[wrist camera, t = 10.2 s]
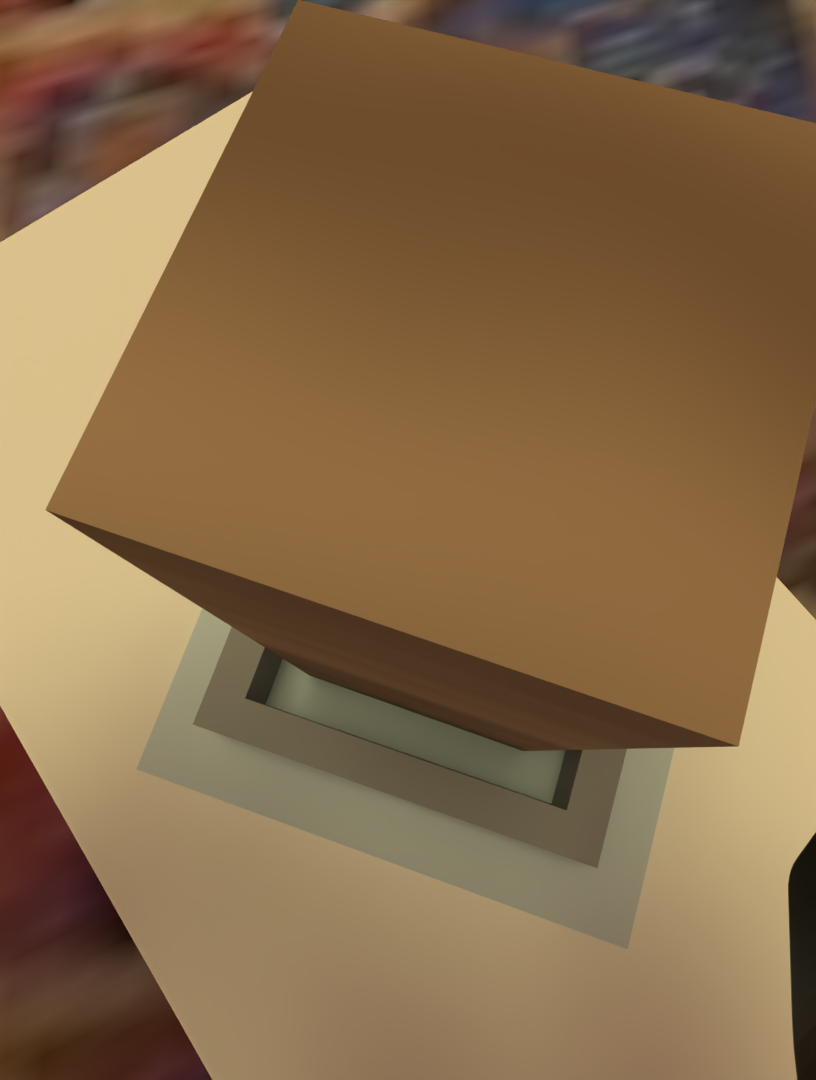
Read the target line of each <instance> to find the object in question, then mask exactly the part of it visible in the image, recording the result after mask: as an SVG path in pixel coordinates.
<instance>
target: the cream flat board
mask: <svg viewBox="0 0 816 1080" xmlns="http://www.w3.org/2000/svg"><path fill="white" fill-rule="evenodd" d="M251 94H252V92H251V93H250V94H248V95H246V96H245V97H243V98H241V99H240V100H238V101H236V102H234V103H233V104H231V105H229V106H228V107H226V108H224V109H223V110H221V111H219V112H218V113H216V114H214V115H213V116H211V117H209V118H208V119H206V120H204V121H203V122H201V123H199V124H198V125H196V126H194V127H193V128H191V129H189V130H188V131H186V132H184V133H183V134H181V135H179V136H178V137H176V138H174V139H173V140H171V141H169V142H168V143H166V144H164V145H163V146H161V147H159V148H158V149H156V150H154V151H153V152H151V153H149V154H147V155H146V156H144V157H142V158H141V159H139V160H137V161H136V162H134V163H132V164H131V165H129V166H127V167H126V168H124V169H122V170H121V171H119V172H117V173H116V174H114V175H112V176H111V177H109V178H107V179H106V180H104V181H102V182H101V183H99V184H97V185H96V186H94V187H92V188H91V189H89V190H87V191H86V192H84V193H82V194H81V195H79V196H77V197H76V198H74V199H72V200H71V201H69V202H67V203H65V204H64V205H62V206H60V207H59V208H57V209H55V210H54V211H52V212H50V213H49V214H47V215H45V216H44V217H42V218H40V219H39V220H37V221H35V222H34V223H32V224H30V225H29V226H27V227H25V228H24V229H22V230H20V231H19V232H17V233H15V234H14V235H12V236H10V237H9V238H7V239H5V240H4V241H2V242H0V706H1V708H2V710H3V711H4V713H5V715H6V717H7V718H8V720H9V722H10V724H11V725H12V727H13V729H14V731H15V733H16V734H17V736H18V738H19V740H20V741H21V743H22V745H23V747H24V748H25V750H26V752H27V754H28V755H29V757H30V759H31V761H32V763H33V764H34V766H35V768H36V770H37V771H38V773H39V775H40V777H41V778H42V780H43V782H44V784H45V785H46V787H47V789H48V791H49V793H50V794H51V796H52V798H53V800H54V801H55V803H56V805H57V807H58V808H59V810H60V812H61V814H62V815H63V817H64V819H65V821H66V822H67V824H68V826H69V828H70V830H71V831H72V833H73V835H74V837H75V838H76V840H77V842H78V844H79V845H80V847H81V849H82V851H83V852H84V854H85V856H86V858H87V860H88V861H89V863H90V865H91V867H92V868H93V870H94V872H95V874H96V875H97V877H98V879H99V881H100V882H101V884H102V886H103V888H104V890H105V891H106V893H107V895H108V897H109V898H110V900H111V902H112V904H113V905H114V907H115V909H116V911H117V912H118V914H119V916H120V918H121V920H122V921H123V923H124V925H125V927H126V928H127V930H128V932H129V934H130V935H131V937H132V939H133V941H134V942H135V944H136V946H137V948H138V949H139V951H140V953H141V955H142V957H143V958H144V960H145V962H146V964H147V965H148V967H149V969H150V971H151V972H152V974H153V976H154V978H155V979H156V981H157V983H158V985H159V987H160V988H161V990H162V992H163V994H164V995H165V997H166V999H167V1001H168V1002H169V1004H170V1006H171V1008H172V1009H173V1011H174V1013H175V1015H176V1017H177V1018H178V1020H179V1022H180V1024H181V1025H182V1027H183V1029H184V1031H185V1032H186V1034H187V1036H188V1038H189V1039H190V1041H191V1043H192V1045H193V1047H194V1048H195V1050H196V1052H197V1054H198V1055H199V1057H200V1059H201V1061H202V1062H203V1064H204V1066H205V1068H206V1069H207V1071H208V1073H209V1075H210V1077H211V1078H212V1080H797V1074H796V1065H795V1056H794V1047H793V1030H792V1007H791V973H790V940H789V906H788V881H789V875H790V871H791V868H792V866H793V864H794V862H795V860H796V859H797V857H798V856H799V854H800V853H801V852H802V850H803V849H804V848H805V846H806V845H807V843H808V842H809V841H810V839H811V838H812V836H813V835H814V834H815V832H816V620H815V619H814V618H813V616H812V615H811V614H810V613H809V612H808V611H807V610H806V609H805V608H804V607H803V606H802V604H801V603H800V602H799V601H798V600H797V599H796V598H795V597H794V596H793V595H792V593H791V592H790V591H789V590H788V589H787V588H786V587H785V586H784V585H783V584H782V583H781V581H780V580H779V579H778V578H777V577H776V581H775V586H774V590H773V595H772V599H771V604H770V608H769V613H768V617H767V622H766V626H765V631H764V635H763V640H762V644H761V648H760V653H759V657H758V662H757V666H756V671H755V675H754V680H753V684H752V689H751V693H750V698H749V702H748V707H747V711H746V716H745V720H744V725H743V729H742V734H741V738H740V743H739V746H738V747H690V748H643V749H596V750H549V751H521V750H518V749H516V748H513V747H510V746H507V745H504V744H502V743H499V742H496V741H493V740H490V739H487V738H485V737H482V736H479V735H476V734H473V733H470V732H468V731H465V730H462V729H459V728H456V727H454V726H451V725H448V724H445V723H442V722H439V721H437V720H434V719H431V718H428V717H425V716H422V715H420V714H417V713H414V712H411V711H408V710H406V709H403V708H400V707H397V706H394V705H391V704H389V703H386V702H383V701H380V700H377V699H374V698H372V697H369V696H366V695H363V694H360V693H358V692H355V691H352V690H349V689H346V688H343V687H341V686H338V685H335V684H332V683H329V682H326V681H324V680H321V679H318V678H315V677H312V676H310V675H308V674H306V673H305V672H303V671H302V670H300V669H298V668H297V667H295V666H294V665H292V664H290V663H289V662H287V661H286V660H284V659H282V658H281V657H279V656H278V655H276V654H274V653H273V652H271V651H270V650H268V649H266V648H265V647H263V646H262V645H260V644H258V643H257V642H255V641H254V640H252V639H251V638H249V637H247V636H246V635H244V634H243V633H241V632H239V631H238V630H236V629H235V628H233V627H231V626H230V625H228V624H227V623H225V622H223V621H222V620H220V619H219V618H217V617H215V616H214V615H212V614H211V613H209V612H207V611H206V610H204V609H203V608H201V607H199V606H198V605H196V604H195V603H193V602H191V601H190V600H188V599H187V598H185V597H183V596H182V595H180V594H179V593H177V592H175V591H174V590H172V589H171V588H169V587H168V586H166V585H164V584H163V583H161V582H160V581H158V580H156V579H155V578H153V577H152V576H150V575H148V574H147V573H145V572H144V571H142V570H140V569H139V568H137V567H136V566H134V565H132V564H131V563H129V562H128V561H126V560H124V559H123V558H121V557H120V556H118V555H116V554H115V553H113V552H112V551H110V550H108V549H107V548H105V547H104V546H102V545H100V544H99V543H97V542H96V541H94V540H92V539H91V538H89V537H88V536H86V535H85V534H83V533H81V532H80V531H78V530H77V529H75V528H73V527H72V526H70V525H69V524H67V523H65V522H64V521H62V520H61V519H59V518H57V517H56V516H54V515H53V514H51V513H49V512H48V511H46V510H45V509H46V507H47V505H48V503H49V501H50V499H51V497H52V495H53V493H54V491H55V489H56V487H57V485H58V483H59V481H60V479H61V477H62V475H63V473H64V471H65V469H66V467H67V465H68V463H69V461H70V459H71V457H72V455H73V453H74V451H75V449H76V447H77V445H78V443H79V441H80V439H81V437H82V435H83V433H84V431H85V429H86V427H87V425H88V423H89V421H90V419H91V417H92V415H93V413H94V411H95V409H96V407H97V405H98V403H99V401H100V399H101V397H102V395H103V392H104V390H105V388H106V386H107V384H108V382H109V380H110V378H111V376H112V374H113V372H114V370H115V368H116V366H117V364H118V362H119V360H120V358H121V356H122V354H123V352H124V350H125V348H126V346H127V344H128V342H129V340H130V338H131V336H132V334H133V332H134V330H135V328H136V326H137V324H138V322H139V320H140V318H141V316H142V314H143V312H144V310H145V308H146V306H147V304H148V302H149V300H150V298H151V296H152V294H153V292H154V290H155V288H156V286H157V284H158V282H159V280H160V278H161V276H162V274H163V272H164V270H165V268H166V266H167V264H168V262H169V260H170V258H171V256H172V254H173V252H174V250H175V248H176V245H177V243H178V241H179V239H180V237H181V235H182V233H183V231H184V229H185V227H186V225H187V223H188V221H189V219H190V217H191V215H192V213H193V211H194V209H195V207H196V205H197V203H198V201H199V199H200V197H201V195H202V193H203V191H204V189H205V187H206V185H207V183H208V181H209V179H210V177H211V175H212V173H213V171H214V169H215V167H216V165H217V163H218V161H219V159H220V157H221V155H222V153H223V151H224V149H225V147H226V145H227V143H228V141H229V139H230V137H231V135H232V133H233V131H234V129H235V127H236V125H237V123H238V121H239V119H240V117H241V115H242V113H243V111H244V109H245V107H246V105H247V103H248V100H249V98H250V96H251Z"/></svg>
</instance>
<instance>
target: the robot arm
mask: <svg viewBox="0 0 816 1080" xmlns="http://www.w3.org/2000/svg"><path fill="white" fill-rule="evenodd" d="M788 906H789V940H790V973H791V1007H792V1030H793V1047H794V1056H795V1065H796V1074H797V1080H816V832H815V834H814V835H813V836H812V838H811V839H810V841H809V842H808V843H807V845H806V846H805V848H804V849H803V850H802V852H801V853H800V854H799V856H798V857H797V859H796V860H795V862H794V864H793V866H792V868H791V871H790V875H789V881H788Z"/></svg>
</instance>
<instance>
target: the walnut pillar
mask: <svg viewBox="0 0 816 1080" xmlns="http://www.w3.org/2000/svg"><path fill="white" fill-rule="evenodd" d="M815 402H816V123H812V122H808V121H804V120H799V119H795V118H791V117H787V116H783V115H778V114H774V113H770V112H766V111H762V110H758V109H753V108H749V107H745V106H741V105H737V104H732V103H728V102H724V101H720V100H716V99H712V98H707V97H703V96H699V95H695V94H691V93H686V92H682V91H678V90H674V89H670V88H666V87H661V86H657V85H653V84H649V83H645V82H640V81H636V80H632V79H628V78H624V77H620V76H615V75H611V74H607V73H603V72H599V71H594V70H590V69H586V68H582V67H578V66H574V65H569V64H565V63H561V62H557V61H553V60H548V59H544V58H540V57H536V56H532V55H528V54H523V53H519V52H515V51H511V50H507V49H502V48H498V47H494V46H490V45H486V44H482V43H477V42H473V41H469V40H465V39H461V38H456V37H452V36H448V35H444V34H440V33H436V32H431V31H427V30H423V29H419V28H415V27H410V26H406V25H402V24H398V23H394V22H390V21H385V20H381V19H377V18H373V17H369V16H364V15H360V14H356V13H352V12H348V11H344V10H339V9H335V8H331V7H327V6H323V5H318V4H314V3H310V2H306V1H302V0H298V2H297V4H296V6H295V8H294V10H293V12H292V14H291V16H290V18H289V20H288V22H287V24H286V26H285V28H284V30H283V32H282V34H281V36H280V38H279V40H278V42H277V44H276V46H275V48H274V50H273V52H272V54H271V56H270V58H269V60H268V62H267V64H266V66H265V68H264V70H263V72H262V74H261V76H260V78H259V80H258V82H257V84H256V86H255V88H254V90H253V92H252V94H251V96H250V98H249V100H248V103H247V105H246V107H245V109H244V111H243V113H242V115H241V117H240V119H239V121H238V123H237V125H236V127H235V129H234V131H233V133H232V135H231V137H230V139H229V141H228V143H227V145H226V147H225V149H224V151H223V153H222V155H221V157H220V159H219V161H218V163H217V165H216V167H215V169H214V171H213V173H212V175H211V177H210V179H209V181H208V183H207V185H206V187H205V189H204V191H203V193H202V195H201V197H200V199H199V201H198V203H197V205H196V207H195V209H194V211H193V213H192V215H191V217H190V219H189V221H188V223H187V225H186V227H185V229H184V231H183V233H182V235H181V237H180V239H179V241H178V243H177V245H176V248H175V250H174V252H173V254H172V256H171V258H170V260H169V262H168V264H167V266H166V268H165V270H164V272H163V274H162V276H161V278H160V280H159V282H158V284H157V286H156V288H155V290H154V292H153V294H152V296H151V298H150V300H149V302H148V304H147V306H146V308H145V310H144V312H143V314H142V316H141V318H140V320H139V322H138V324H137V326H136V328H135V330H134V332H133V334H132V336H131V338H130V340H129V342H128V344H127V346H126V348H125V350H124V352H123V354H122V356H121V358H120V360H119V362H118V364H117V366H116V368H115V370H114V372H113V374H112V376H111V378H110V380H109V382H108V384H107V386H106V388H105V390H104V392H103V395H102V397H101V399H100V401H99V403H98V405H97V407H96V409H95V411H94V413H93V415H92V417H91V419H90V421H89V423H88V425H87V427H86V429H85V431H84V433H83V435H82V437H81V439H80V441H79V443H78V445H77V447H76V449H75V451H74V453H73V455H72V457H71V459H70V461H69V463H68V465H67V467H66V469H65V471H64V473H63V475H62V477H61V479H60V481H59V483H58V485H57V487H56V489H55V491H54V493H53V495H52V497H51V499H50V501H49V503H48V505H47V507H46V509H45V510H46V511H48V512H49V513H51V514H53V515H54V516H56V517H57V518H59V519H61V520H62V521H64V522H65V523H67V524H69V525H70V526H72V527H73V528H75V529H77V530H78V531H80V532H81V533H83V534H85V535H86V536H88V537H89V538H91V539H92V540H94V541H96V542H97V543H99V544H100V545H102V546H104V547H105V548H107V549H108V550H110V551H112V552H113V553H115V554H116V555H118V556H120V557H121V558H123V559H124V560H126V561H128V562H129V563H131V564H132V565H134V566H136V567H137V568H139V569H140V570H142V571H144V572H145V573H147V574H148V575H150V576H152V577H153V578H155V579H156V580H158V581H160V582H161V583H163V584H164V585H166V586H168V587H169V588H171V589H172V590H174V591H175V592H177V593H179V594H180V595H182V596H183V597H185V598H187V599H188V600H190V601H191V602H193V603H195V604H196V605H198V606H199V607H201V608H203V609H204V610H206V611H207V612H209V613H211V614H212V615H214V616H215V617H217V618H219V619H220V620H222V621H223V622H225V623H227V624H228V625H230V626H231V627H233V628H235V629H236V630H238V631H239V632H241V633H243V634H244V635H246V636H247V637H249V638H251V639H252V640H254V641H255V642H257V643H258V644H260V645H262V646H263V647H265V648H266V649H268V650H270V651H271V652H273V653H274V654H276V655H278V656H279V657H281V658H282V659H284V660H286V661H287V662H289V663H290V664H292V665H294V666H295V667H297V668H298V669H300V670H302V671H303V672H305V673H306V674H308V675H310V676H312V677H315V678H318V679H321V680H324V681H326V682H329V683H332V684H335V685H338V686H341V687H343V688H346V689H349V690H352V691H355V692H358V693H360V694H363V695H366V696H369V697H372V698H374V699H377V700H380V701H383V702H386V703H389V704H391V705H394V706H397V707H400V708H403V709H406V710H408V711H411V712H414V713H417V714H420V715H422V716H425V717H428V718H431V719H434V720H437V721H439V722H442V723H445V724H448V725H451V726H454V727H456V728H459V729H462V730H465V731H468V732H470V733H473V734H476V735H479V736H482V737H485V738H487V739H490V740H493V741H496V742H499V743H502V744H504V745H507V746H510V747H513V748H516V749H518V750H521V751H549V750H596V749H643V748H690V747H738V746H739V743H740V738H741V734H742V729H743V725H744V720H745V716H746V711H747V707H748V702H749V698H750V693H751V689H752V684H753V680H754V675H755V671H756V666H757V662H758V657H759V653H760V648H761V644H762V640H763V635H764V631H765V626H766V622H767V617H768V613H769V608H770V604H771V599H772V595H773V590H774V586H775V581H776V577H777V572H778V568H779V563H780V559H781V554H782V550H783V545H784V541H785V536H786V532H787V528H788V523H789V519H790V514H791V510H792V505H793V501H794V496H795V492H796V487H797V483H798V478H799V474H800V469H801V465H802V460H803V456H804V451H805V447H806V442H807V438H808V433H809V429H810V425H811V420H812V416H813V411H814V407H815Z"/></svg>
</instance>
